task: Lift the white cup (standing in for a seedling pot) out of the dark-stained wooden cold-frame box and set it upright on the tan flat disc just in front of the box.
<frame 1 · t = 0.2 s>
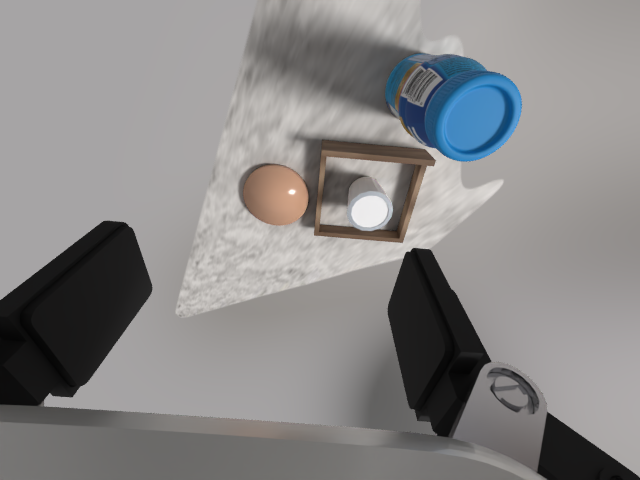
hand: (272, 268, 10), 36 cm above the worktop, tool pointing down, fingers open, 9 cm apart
tan flat disc: (276, 195, 48), on the worktop
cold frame: (364, 192, 48), on the worktop
white cup: (364, 191, 48), resting in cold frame
beverage bottle: (413, 88, 39), on the worktop
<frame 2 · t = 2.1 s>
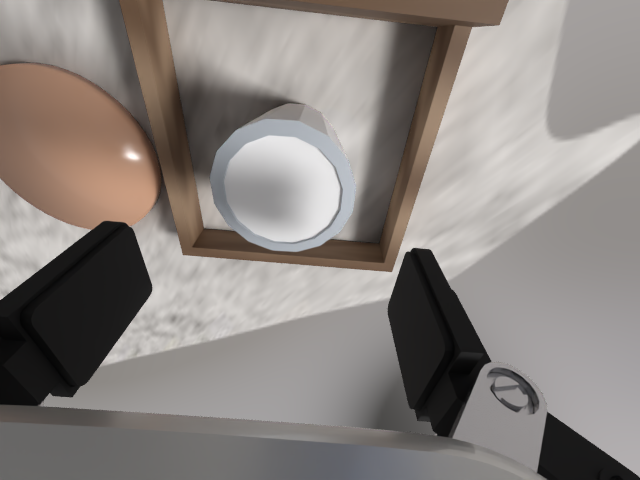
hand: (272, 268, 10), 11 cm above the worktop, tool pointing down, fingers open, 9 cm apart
tan flat disc: (78, 156, 19), on the worktop
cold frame: (296, 148, 19), on the worktop
white cup: (296, 147, 19), resting in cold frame
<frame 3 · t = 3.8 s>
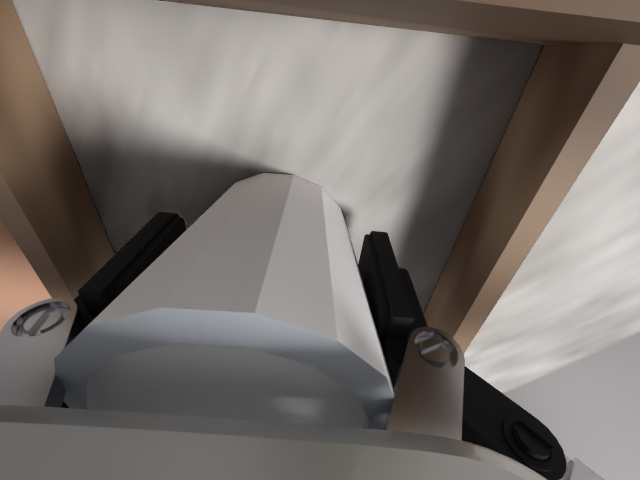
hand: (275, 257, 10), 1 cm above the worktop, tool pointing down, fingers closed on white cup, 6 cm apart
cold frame: (280, 237, 12), on the worktop
white cup: (280, 235, 12), resting in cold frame, touching gripper
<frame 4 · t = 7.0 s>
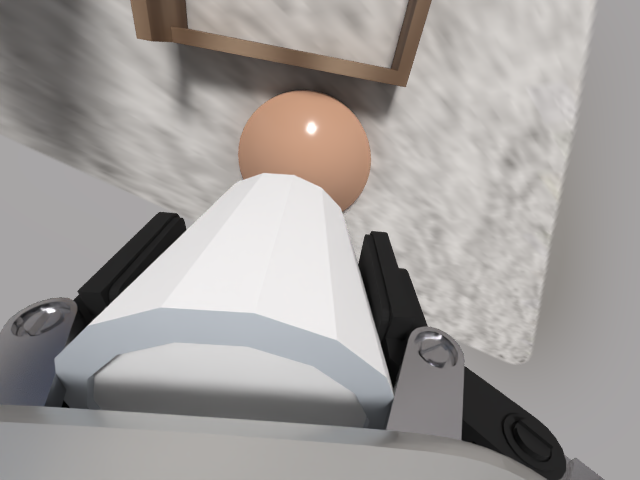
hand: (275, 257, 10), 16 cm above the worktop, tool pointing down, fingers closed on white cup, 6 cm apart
tan flat disc: (305, 161, 24), on the worktop
white cup: (281, 235, 12), point 14 cm above the worktop, touching gripper
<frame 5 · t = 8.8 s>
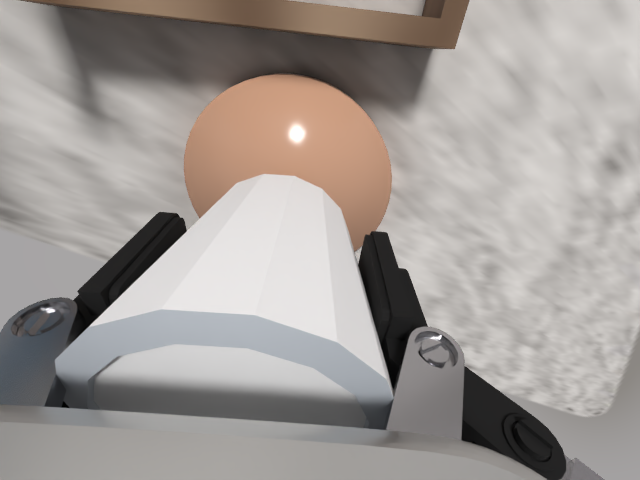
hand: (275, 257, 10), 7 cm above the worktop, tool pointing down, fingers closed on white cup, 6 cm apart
tan flat disc: (290, 185, 16), on the worktop
white cup: (281, 235, 12), point 5 cm above the worktop, touching gripper
when the fingers open (3 cm above the worktop, at t = 10.3 s): white cup drops 1 cm, resting on tan flat disc.
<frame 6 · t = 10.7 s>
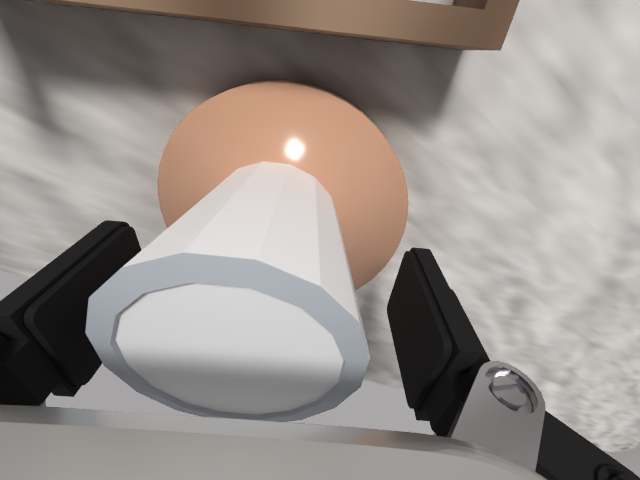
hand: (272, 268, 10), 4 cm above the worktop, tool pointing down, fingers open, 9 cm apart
tan flat disc: (286, 210, 13), on the worktop
white cup: (276, 219, 13), point 1 cm above the worktop, touching tan flat disc
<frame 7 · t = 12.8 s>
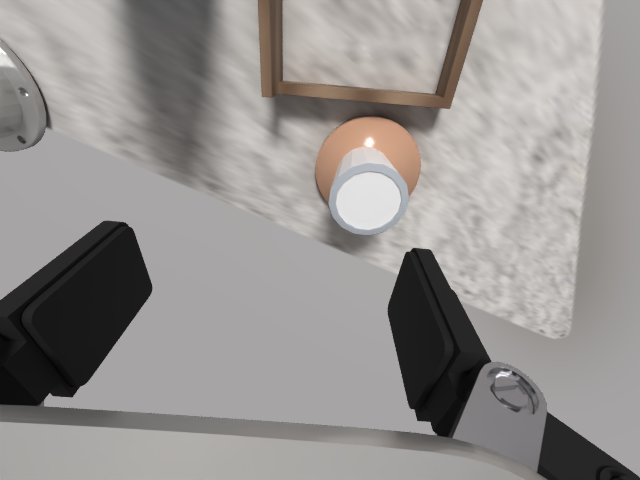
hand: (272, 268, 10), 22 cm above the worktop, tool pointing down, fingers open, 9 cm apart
tan flat disc: (366, 169, 31), on the worktop
white cup: (363, 172, 30), point 1 cm above the worktop, touching tan flat disc
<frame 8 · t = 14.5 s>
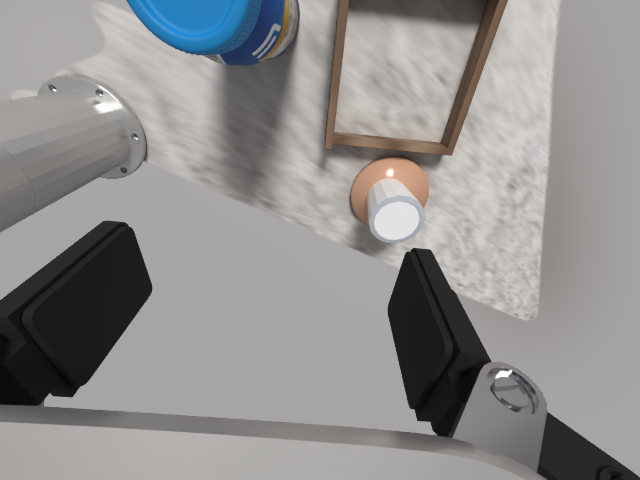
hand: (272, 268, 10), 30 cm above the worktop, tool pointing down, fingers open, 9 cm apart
tan flat disc: (388, 193, 41), on the worktop
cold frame: (400, 73, 32), on the worktop
white cup: (386, 196, 40), point 1 cm above the worktop, touching tan flat disc
beverage bottle: (262, 13, 30), on the worktop
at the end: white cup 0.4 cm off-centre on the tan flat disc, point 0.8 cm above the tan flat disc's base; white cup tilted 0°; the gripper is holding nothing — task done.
